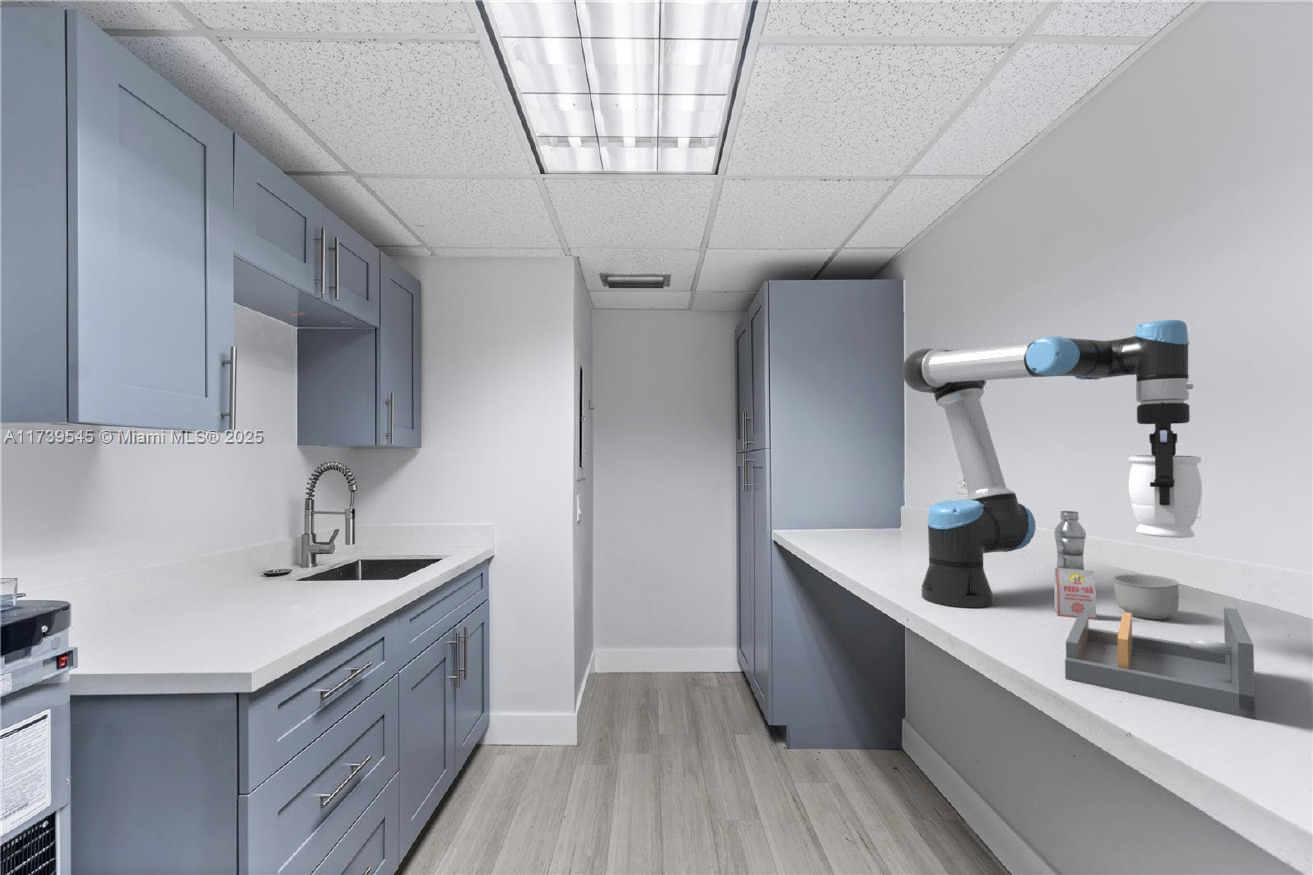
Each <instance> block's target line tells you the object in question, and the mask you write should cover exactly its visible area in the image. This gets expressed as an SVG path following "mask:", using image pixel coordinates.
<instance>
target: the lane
mask: <svg viewBox="0 0 1313 875" xmlns="http://www.w3.org/2000/svg"><path fill="white" fill-rule="evenodd" d="M1223 612H1224V613H1223V620H1224V621H1223V626H1224V627H1223V628H1224V642H1221V641H1220V642H1219V641H1214V640H1206V639H1200V638H1194V637H1190V638H1189V643H1185V642H1179V641H1174V640H1168V639H1161V638H1155V637H1149V636H1148V637H1147V636H1143V635H1136V634H1132V654H1131V662H1130V669H1126V668H1121V667H1118V639H1117V638H1118V633H1119V631H1112V630H1104V629H1099V628H1095V627H1089V619H1088V616H1084V615H1078V616H1077V618H1075V621H1074V623H1073V625H1072V627H1071V629H1070V632H1069V634H1068V636H1067V638H1066V641H1065V653H1066V654H1065V659H1064V666H1065V667H1064V668H1065V669H1064V670H1065V672H1064V674H1065V675H1064V676H1065V678H1064V679H1065V680H1069V681H1075V682H1081V683H1085V684H1089V685H1094V686H1098V687H1103V688H1108V689H1112V690H1118V691H1122V692H1125V693H1126V692H1127V693H1131V694H1136V695H1141V696H1145V697H1151V698H1155V699H1158V700H1164V701H1167V702H1168V701H1169V702H1173V703H1178V704H1181V705H1183V704H1184V705H1188V706H1193V707H1196V708H1201V709H1206V710H1211V711H1217V712H1220V713H1225V714H1230V715H1234V716H1239V717H1243V718H1249V719H1254V720H1256V708H1255V707H1256V706H1255V705H1256V704H1255V702H1256V701H1255V700H1256V699H1255V695H1256V694H1255V660H1254V659H1255V658H1254V656H1255V655H1254V648H1255V647H1254V643H1253V640H1252V639H1251V636H1250V635H1249V632H1248V630H1247V628H1246V626H1245V624H1244V621H1243V618H1242V617H1241V615H1240V613H1239V611H1238V609H1237V608H1233V607H1232V608H1231V607H1225V606H1224V607H1223Z"/></svg>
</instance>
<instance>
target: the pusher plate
mask: <svg viewBox="0 0 1313 875" xmlns="http://www.w3.org/2000/svg"><path fill="white" fill-rule="evenodd" d="M1132 617H1133V616H1132V613H1128V612H1126V611H1122V615H1121V620H1120V624H1119V628H1118V632H1119V633H1118V638H1117V639H1118V667H1121V668H1126V669H1130V662H1131V654H1132V635H1133V618H1132Z"/></svg>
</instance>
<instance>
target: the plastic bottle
mask: <svg viewBox="0 0 1313 875" xmlns="http://www.w3.org/2000/svg"><path fill="white" fill-rule="evenodd" d="M1059 518H1060V520H1061V521H1060V522H1059V523H1058V525H1057V526H1056V527H1055V528H1054V532H1053V534H1054V539H1055V545H1056V553H1057V555H1056V556H1057V557H1056V558H1057V560H1056V568H1062V569H1076V570H1085V564H1084V549H1085V543H1086V537H1087V533H1086V530H1085V529H1084V527H1083V526H1082V525H1081V523H1080V522H1079V520H1080V517H1079V512H1078V511H1071V510H1061V511H1060V517H1059ZM1054 581H1055V578H1054Z"/></svg>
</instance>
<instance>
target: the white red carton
mask: <svg viewBox="0 0 1313 875" xmlns="http://www.w3.org/2000/svg"><path fill="white" fill-rule="evenodd" d="M1054 569H1055V570H1054V572H1055V573H1054V579H1055V580H1054V586H1053V588H1054V589H1053V590H1054V591H1053V592H1054V595H1053V596H1054V613H1055V614H1056V616H1057V617H1064V618H1075V619H1077V616H1078V615H1084V616H1088V620H1093V621H1096V620H1097V595H1096V593H1097V592H1096V583H1095V573H1094V570H1087V569H1084V570H1076V569H1062V568H1057V567H1055V568H1054Z"/></svg>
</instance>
